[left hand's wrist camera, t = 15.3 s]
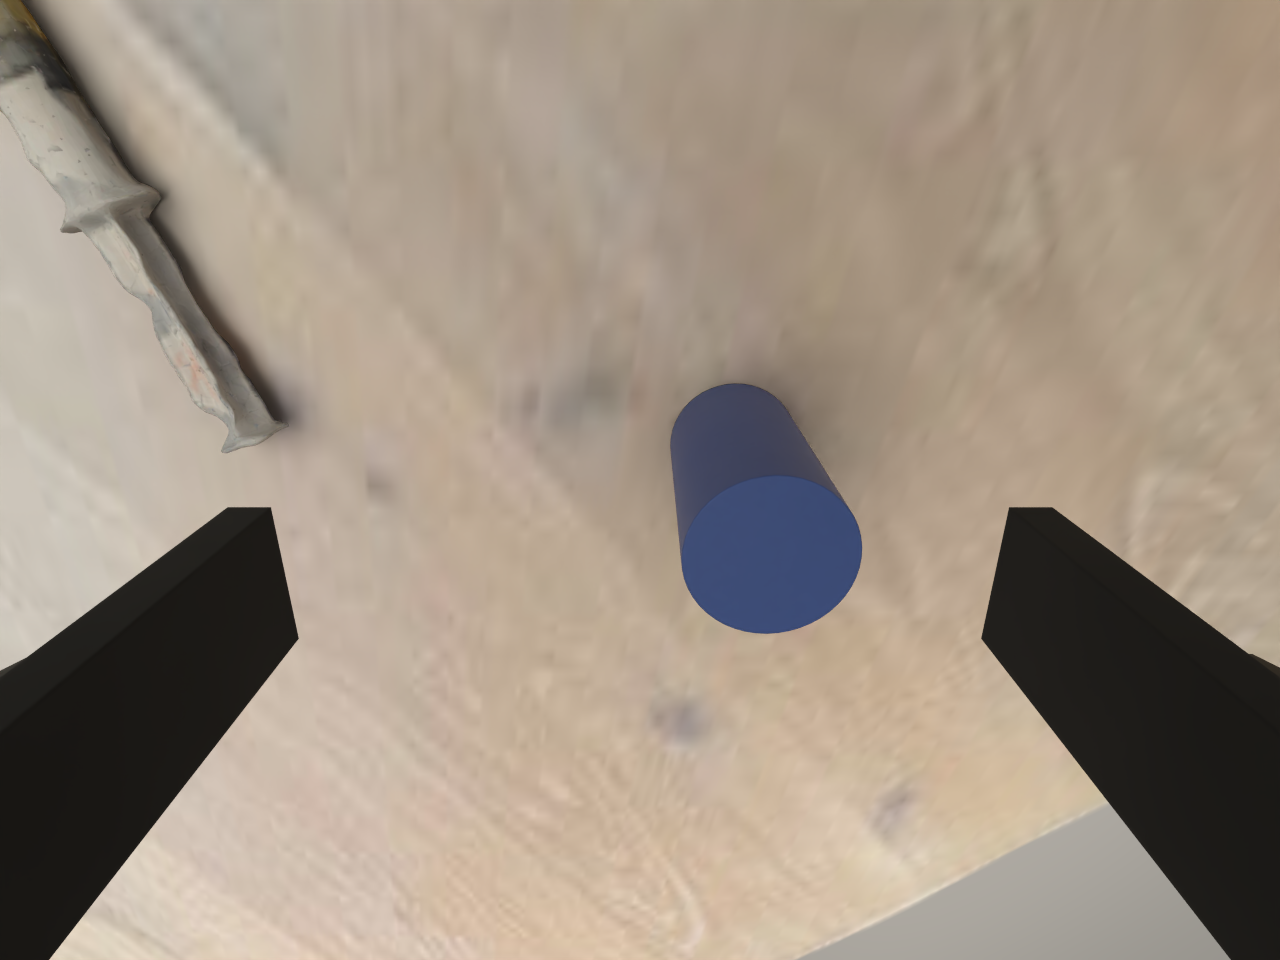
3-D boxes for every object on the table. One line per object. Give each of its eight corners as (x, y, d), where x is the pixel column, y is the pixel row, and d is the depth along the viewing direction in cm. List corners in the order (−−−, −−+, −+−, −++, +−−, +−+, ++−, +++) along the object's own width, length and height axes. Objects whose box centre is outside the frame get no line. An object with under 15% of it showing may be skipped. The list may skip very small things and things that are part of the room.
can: (791, 374, 30) (859, 463, 21) (799, 492, 32) (864, 623, 23) (662, 393, 31) (670, 489, 21) (678, 508, 33) (692, 643, 23)
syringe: (-200, -245, 22) (-308, -298, 20) (-108, -299, 22) (-206, -361, 19) (229, 447, 32) (192, 471, 29) (301, 421, 31) (271, 443, 29)
